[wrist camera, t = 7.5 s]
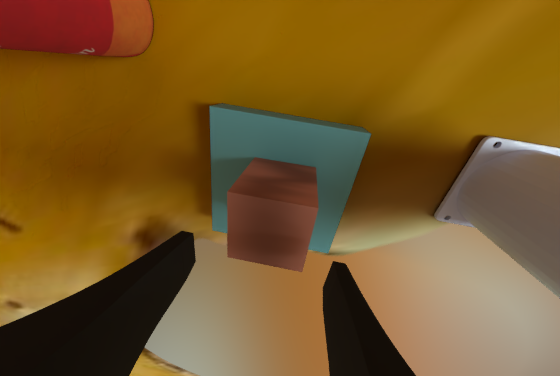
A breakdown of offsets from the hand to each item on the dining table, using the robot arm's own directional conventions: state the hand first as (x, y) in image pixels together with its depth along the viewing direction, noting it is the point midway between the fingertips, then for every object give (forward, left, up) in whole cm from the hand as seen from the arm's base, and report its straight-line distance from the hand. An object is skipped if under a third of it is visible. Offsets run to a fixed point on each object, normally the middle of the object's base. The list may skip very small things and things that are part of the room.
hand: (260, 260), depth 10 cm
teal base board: (0, 0, -11) cm, 11 cm away
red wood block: (0, 0, -8) cm, 8 cm away
